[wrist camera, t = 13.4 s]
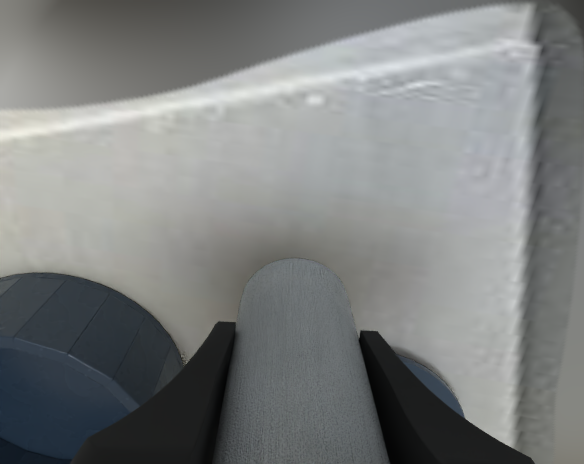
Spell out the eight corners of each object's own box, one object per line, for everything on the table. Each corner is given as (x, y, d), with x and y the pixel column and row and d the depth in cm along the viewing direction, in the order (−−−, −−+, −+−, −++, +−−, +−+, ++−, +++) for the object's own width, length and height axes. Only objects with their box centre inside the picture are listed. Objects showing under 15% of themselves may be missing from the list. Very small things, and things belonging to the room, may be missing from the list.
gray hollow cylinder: (220, 313, 18) (149, 603, 9) (282, 235, 17) (279, 481, 7) (304, 363, 19) (323, 666, 10) (370, 293, 18) (464, 571, 8)
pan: (187, 463, 27) (167, 550, 22) (-31, 453, 26) (-98, 540, 21) (184, 281, 21) (157, 345, 17) (-88, 263, 21) (-194, 325, 16)
